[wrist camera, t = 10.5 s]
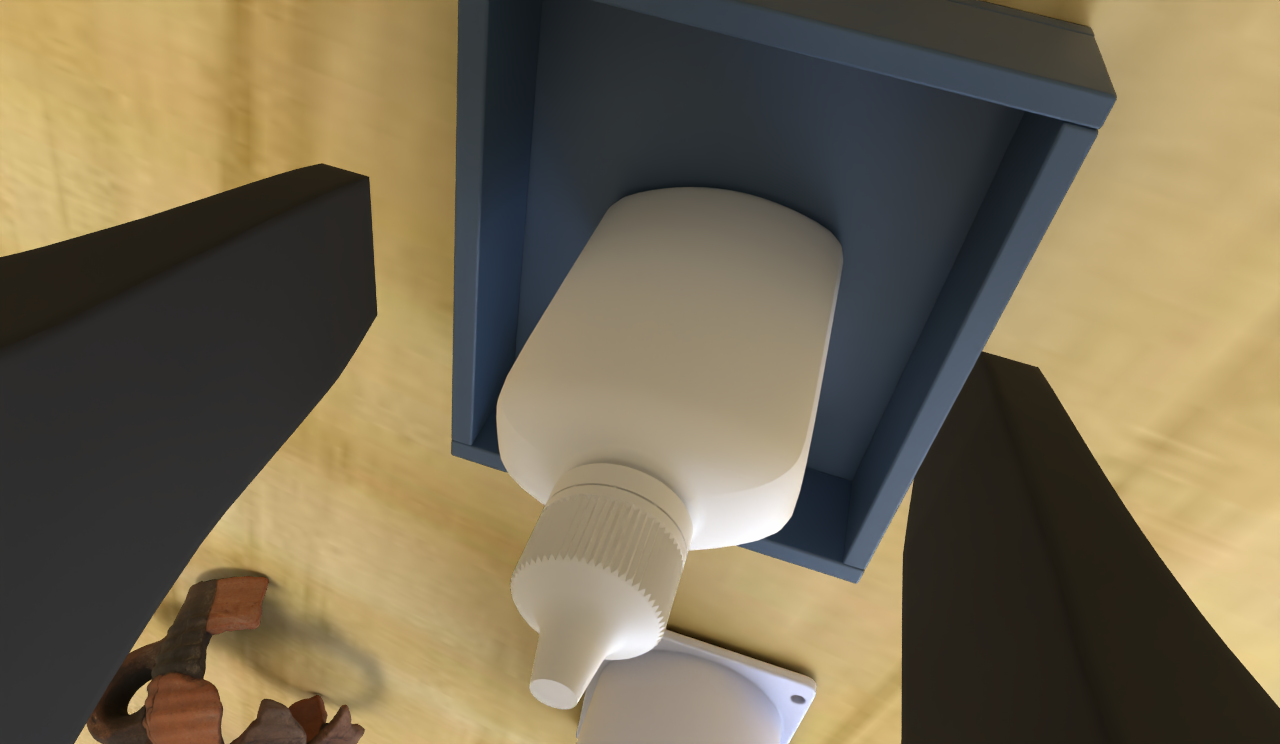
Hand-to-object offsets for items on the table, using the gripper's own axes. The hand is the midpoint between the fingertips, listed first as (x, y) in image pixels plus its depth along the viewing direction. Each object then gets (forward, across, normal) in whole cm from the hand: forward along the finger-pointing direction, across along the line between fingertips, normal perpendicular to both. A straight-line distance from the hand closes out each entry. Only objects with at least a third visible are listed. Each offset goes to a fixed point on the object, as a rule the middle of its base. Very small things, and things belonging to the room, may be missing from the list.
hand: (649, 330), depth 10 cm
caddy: (+10, 0, +5) cm, 12 cm away
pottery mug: (+11, +16, +32) cm, 37 cm away
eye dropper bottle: (+10, 0, +5) cm, 11 cm away
